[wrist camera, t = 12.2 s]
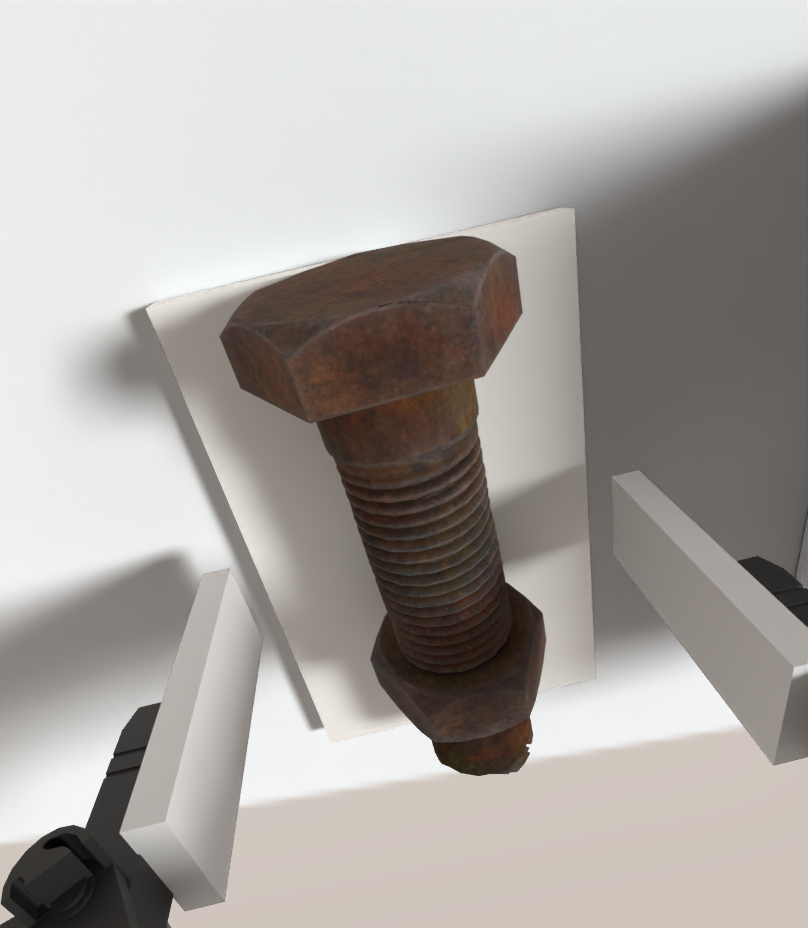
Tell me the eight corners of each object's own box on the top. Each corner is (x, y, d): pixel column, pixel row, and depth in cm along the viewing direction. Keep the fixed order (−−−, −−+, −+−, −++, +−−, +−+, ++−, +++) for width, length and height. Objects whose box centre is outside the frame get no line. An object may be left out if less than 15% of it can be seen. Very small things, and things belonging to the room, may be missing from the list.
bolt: (439, 654, 21) (323, 253, 13) (576, 679, 19) (528, 216, 11) (379, 810, 17) (153, 345, 9) (547, 866, 14) (438, 315, 7)
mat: (155, 301, 13) (145, 308, 12) (561, 207, 13) (574, 208, 12) (331, 724, 21) (331, 743, 20) (586, 661, 21) (595, 678, 20)
